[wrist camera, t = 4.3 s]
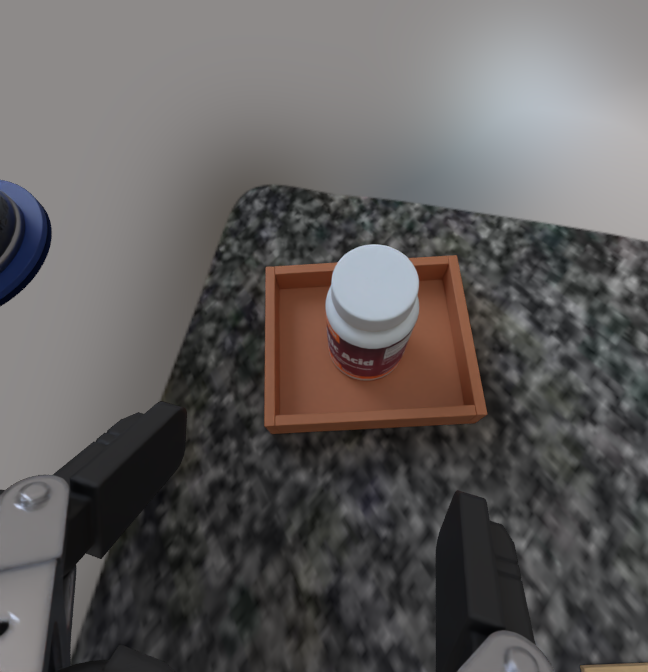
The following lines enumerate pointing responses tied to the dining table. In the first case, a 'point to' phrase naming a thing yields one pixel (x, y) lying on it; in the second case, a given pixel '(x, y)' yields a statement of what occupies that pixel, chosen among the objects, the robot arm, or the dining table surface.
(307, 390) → the tray
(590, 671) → the mat
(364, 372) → the pill bottle
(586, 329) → the dining table surface
